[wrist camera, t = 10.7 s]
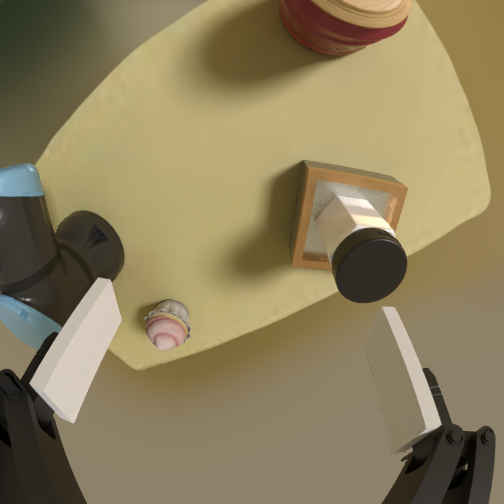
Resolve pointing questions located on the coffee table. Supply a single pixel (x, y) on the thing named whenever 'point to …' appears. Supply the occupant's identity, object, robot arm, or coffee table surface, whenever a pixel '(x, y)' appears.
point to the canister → (342, 22)
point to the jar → (361, 250)
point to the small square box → (323, 192)
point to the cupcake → (168, 325)
